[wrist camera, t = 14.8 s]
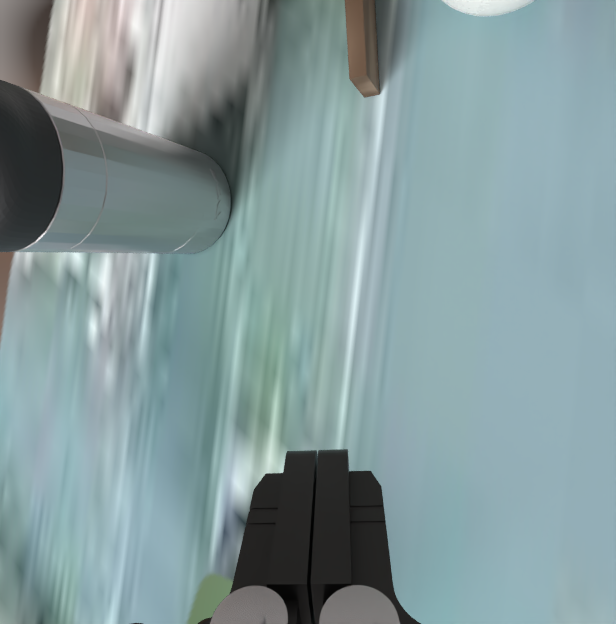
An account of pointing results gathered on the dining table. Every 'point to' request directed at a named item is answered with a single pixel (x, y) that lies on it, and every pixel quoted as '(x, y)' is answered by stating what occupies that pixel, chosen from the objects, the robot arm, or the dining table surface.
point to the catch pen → (362, 46)
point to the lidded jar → (487, 6)
